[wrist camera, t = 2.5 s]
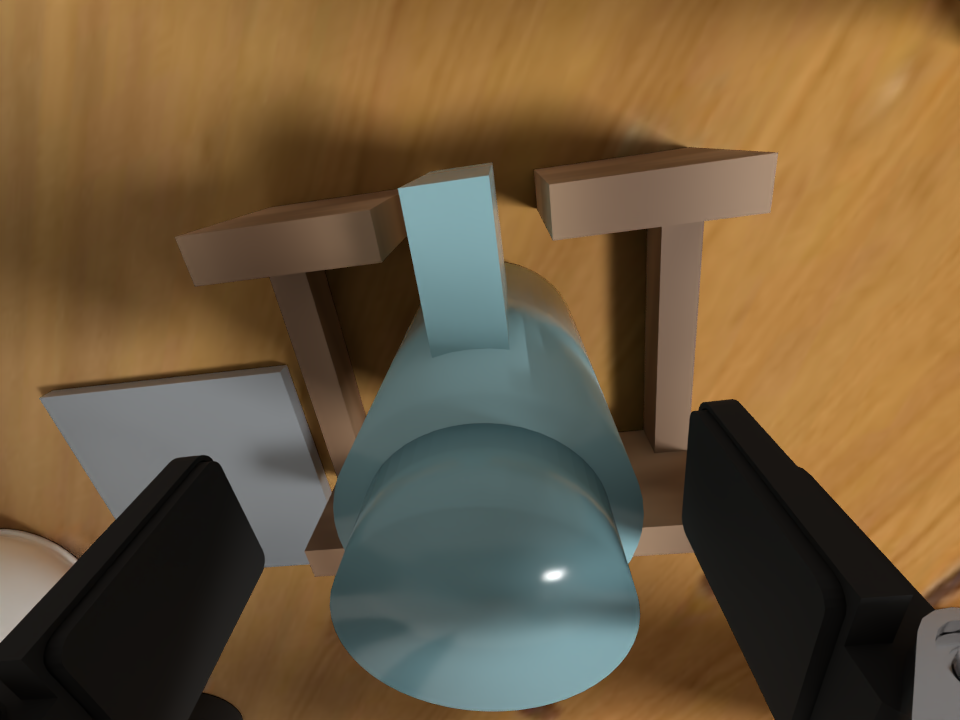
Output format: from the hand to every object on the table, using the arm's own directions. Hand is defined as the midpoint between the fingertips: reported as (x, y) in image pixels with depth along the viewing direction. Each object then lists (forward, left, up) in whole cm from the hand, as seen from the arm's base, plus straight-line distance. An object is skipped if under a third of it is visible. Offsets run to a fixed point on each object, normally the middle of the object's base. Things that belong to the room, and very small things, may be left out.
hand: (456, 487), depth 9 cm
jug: (-1, -1, -8) cm, 9 cm away
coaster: (+12, +6, -8) cm, 16 cm away
